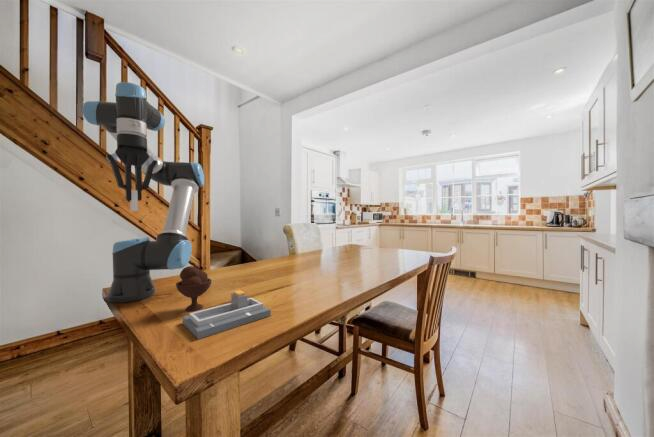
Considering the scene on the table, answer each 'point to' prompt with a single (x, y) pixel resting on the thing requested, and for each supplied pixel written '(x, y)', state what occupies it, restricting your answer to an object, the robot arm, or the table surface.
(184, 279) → the ice cream bowl
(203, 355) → the table surface
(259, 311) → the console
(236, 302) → the fader tab
